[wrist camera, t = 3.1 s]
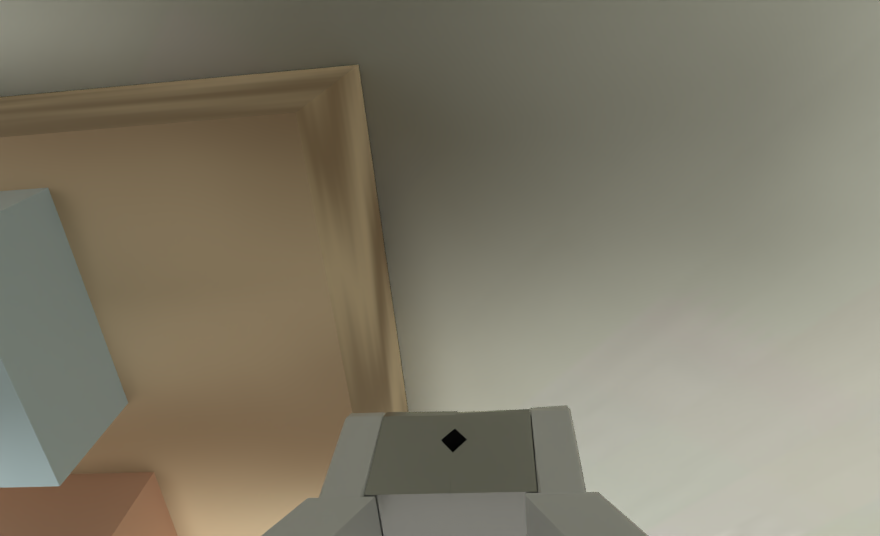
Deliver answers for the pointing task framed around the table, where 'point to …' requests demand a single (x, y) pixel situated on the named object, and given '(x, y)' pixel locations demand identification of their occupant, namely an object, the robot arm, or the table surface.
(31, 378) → the tile blue
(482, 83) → the table surface
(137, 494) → the tile terracotta
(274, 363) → the wooden block
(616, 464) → the table surface
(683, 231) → the table surface
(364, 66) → the table surface
